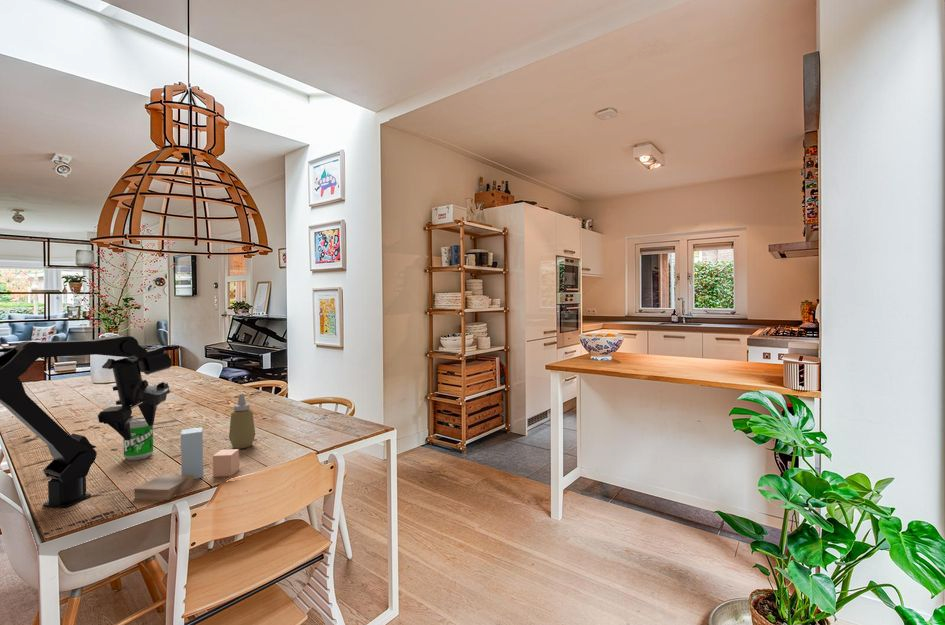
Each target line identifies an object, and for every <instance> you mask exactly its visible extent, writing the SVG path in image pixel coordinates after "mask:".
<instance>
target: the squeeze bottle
mask: <svg viewBox="0 0 945 625" xmlns="http://www.w3.org/2000/svg"><path fill="white" fill-rule="evenodd" d="M237 401H238V402H237V404H234V406H233V409H234V411H232V412H231V413H230V424H229V432H228V433H229V434H228V438H229V441H230V443H231V446H232V448H233V449H239V450H240V449H246V448H249V447H251V446H253V442H254V441H255V437H256V428H255V421H254V413H253V410H252V409H251V408H250V403H247V402H246V399H245V394H244V393H240V394H239V396H238V400H237Z"/></svg>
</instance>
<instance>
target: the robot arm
mask: <svg viewBox="0 0 945 625" xmlns="http://www.w3.org/2000/svg"><path fill="white" fill-rule="evenodd" d="M91 355H92V356H93V355H98V356H109V357H119V359H115V358H108V359H107V361H106V362H105V363H104V364H103V365H102V366H101V368H102V369H106V370H107V369H108V370H111V369H112V372H113V373H112V374H113V377H114V381H115V385H114V386H112V391H113V392H114V391H115V392H116V391H117V394H118V400H116V401H115V405H116V406H109V407H108V408H106V409H104V410H103V409H102V411H100V412H99V413H98V414H97V419H98V423H99V424H102V423H103V424H104V425H108V426H110V427H111V428H112V429H113V430H115V431H116V432H117V433H118V435H119V436H120V437H122V439H123V438H124V439H125V440H131V430H130V420H131V419H134V415H132V414H133V410H132V409H134V408H136V407H138V408H139V410H140V413H141V414H142V416H143V417H144V418H145V420H146V422H147V424H148V425H149V426H153V427H154V423H155V419H156V418H155V417H156V413H157V408H158V405H160V404H161V403H163V402H166V400H167V395H169V394H171V390H170V386H169V383H168V382H166V381H161V382H159V383H158V384H157V385H156V384H154V385H149V382H148V381H147V379H143V377H142V373H143V374H145V375H151V374H155V373H158V372H161V371H166V370H168V369H170V368H171V367H172V364H173V363H172V358H171V357H170V355H169V353H168V352H167V351H166V350H165V347H164V346H159V347H155V348H153V349H148V350H147V349H145V348H143V347H142V346H141V345H140V344H139V341H138V340H137V339H136V338H135V336H130V335H119V334H118V335H110V336H103V337H99V338H94V339H89V340H87V339H86V340H62V341H61V340H58V341H28V340H26V341H22V342H19V343H18V344H17V345H15V346H14V347H13V348H12V349H10V350H8V351H6V352H5V353H2V354H1V355H0V405H2V406H3V407H4V408H6V409H7V410H8V411H9V412H10V413H11V414H13V416H14V417H16V418H17V420H19V421H20V422H22V424H23V425H24V426H25V427H27V428H28V429H29V430H30V431H31V432H32V433H33V434H35V435H36V437H38V438H39V439H40V440H41V441H42V442H43V443H45V444H46V446H47V448H48V451H49V453H50V455H51V457H52V458H53V459H52V460H51V462H49V464H47V465H46V466H45V468H44V469H43V470H42V472H43V473H44V475H45V477H46V478H50V480H47V491H48V492H47V494H48V501H46V502H45V503H43V504H42V507H45V508H46V507H50V508H51V507H52V508H68V507H70V506H72V505H74V504H76V503H79V502H80V501H82V500H85V499H87V498H89V497H91V496H92V494H91V493H87V476H88V474H89V471H90V469H91V466H92V465H93V464H94V463H95V461H96V459H97V457H98V456H97V455H98V454H97V451H96V450H95V448H97V445H93V444H92V443H91V442H90V441H89V439H88V438H87V437H86V436H85V435H81V434H76V433H71V435H70V434H69V433H68V432H66V430H64V428H62V427H61V426H60V425H59V424H58V423H57V422H56V421H55V420H54V419H53V418H52V417H50V415H49V414H48V413H46V411H45V410H43V408H41V407H40V406H39V405H38V404H37V402H36V401H34V400H33V399H32V398H31V397H30V396H28V394H27V392H26V390H25V387H24V384H23V383H22V381H21V379H20V378H19V377H21V376H22V375H23V374H24V373H26V372H27V371H28V369H29V368H30V367H31V366H32V365H33V364H34V363H35V362H36V361H37V360H38V359H40V358H56V357H57V358H59V357H72V356H73V357H74V356H91ZM121 357H122V358H121ZM130 357H131V359H130Z"/></svg>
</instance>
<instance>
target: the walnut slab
mask: <svg viewBox="0 0 945 625" xmlns="http://www.w3.org/2000/svg"><path fill="white" fill-rule="evenodd" d="M194 485H195V479H194V475H182V474H165V473H163V474H161V475H159V476H157V477H154V478H153V479H150V480H148V481H146V482H145V483H143V484H141V485H139V486H137V487H134V489H133V490H134V491H133V492H134V499H135V500H150V501H151V500H152V501H153V500H155V501H156V500H157V501H170V500H171V499H172V498H174V497H176V496H178V495H179V494H181V493H183V492H184V491H186V490H188V489H189V488H191V487H193V486H194ZM177 494H178V495H177ZM175 495H176V496H175Z"/></svg>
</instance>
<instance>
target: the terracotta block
mask: <svg viewBox="0 0 945 625" xmlns="http://www.w3.org/2000/svg"><path fill="white" fill-rule="evenodd" d="M239 470H240V449H236V448H233V449H231V448H230V449H220V450H218V451H217V452H215V454H213V455H212V477H231V476H233V475H234V474H235V473H236V472H237V471H239Z"/></svg>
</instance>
